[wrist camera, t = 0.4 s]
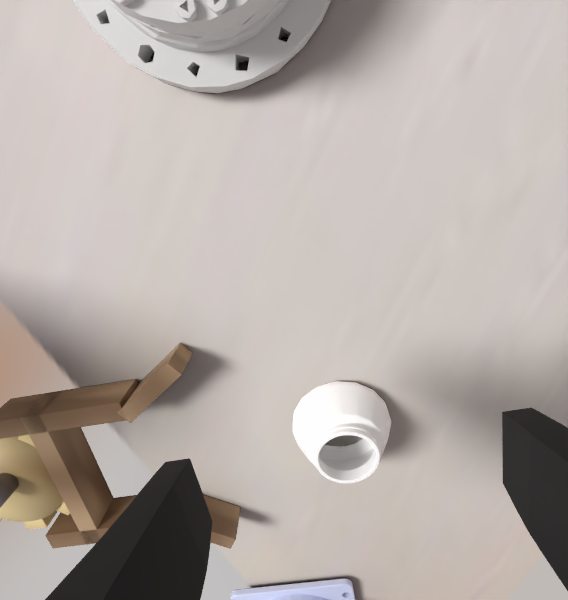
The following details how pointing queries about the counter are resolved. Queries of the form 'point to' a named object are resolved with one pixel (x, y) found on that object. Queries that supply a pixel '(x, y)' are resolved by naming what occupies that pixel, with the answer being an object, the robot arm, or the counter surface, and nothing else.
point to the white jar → (342, 429)
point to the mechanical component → (205, 37)
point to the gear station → (80, 458)
